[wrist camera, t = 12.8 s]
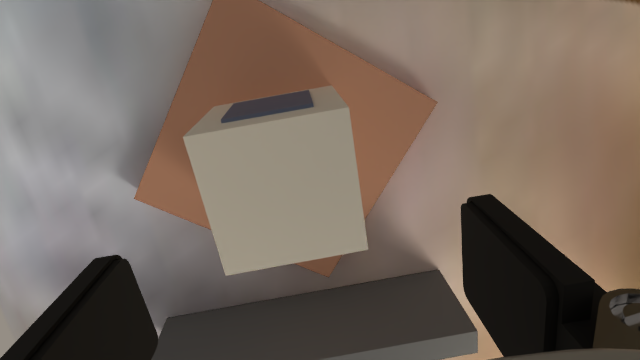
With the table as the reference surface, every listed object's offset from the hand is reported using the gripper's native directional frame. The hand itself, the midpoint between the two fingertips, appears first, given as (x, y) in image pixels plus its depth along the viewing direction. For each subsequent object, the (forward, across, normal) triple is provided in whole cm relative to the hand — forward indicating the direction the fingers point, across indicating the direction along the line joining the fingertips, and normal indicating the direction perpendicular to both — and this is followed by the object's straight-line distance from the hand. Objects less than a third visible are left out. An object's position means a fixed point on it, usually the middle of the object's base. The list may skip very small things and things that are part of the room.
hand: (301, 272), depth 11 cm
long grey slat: (+12, +2, +10) cm, 16 cm away
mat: (+12, +1, -1) cm, 12 cm away
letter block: (+10, +1, -1) cm, 11 cm away
